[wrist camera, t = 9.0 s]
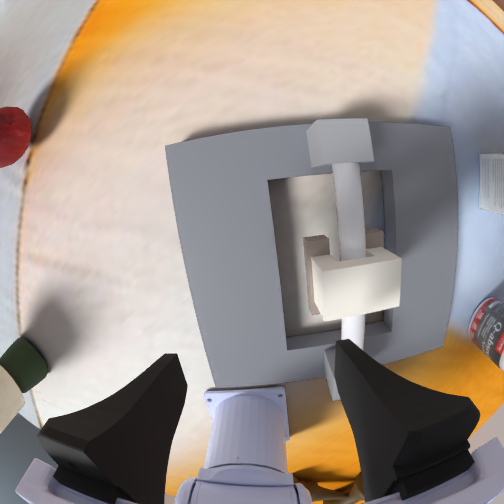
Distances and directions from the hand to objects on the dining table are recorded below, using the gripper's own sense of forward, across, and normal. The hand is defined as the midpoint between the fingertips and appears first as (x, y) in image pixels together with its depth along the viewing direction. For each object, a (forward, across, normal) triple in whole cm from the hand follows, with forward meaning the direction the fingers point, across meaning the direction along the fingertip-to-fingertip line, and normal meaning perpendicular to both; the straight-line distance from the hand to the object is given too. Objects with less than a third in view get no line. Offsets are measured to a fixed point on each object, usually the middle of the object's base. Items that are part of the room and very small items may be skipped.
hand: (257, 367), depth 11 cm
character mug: (+10, +31, +8) cm, 34 cm away
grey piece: (+10, -6, -1) cm, 12 cm away
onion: (+11, +21, -17) cm, 29 cm away
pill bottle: (+10, -25, +8) cm, 29 cm away
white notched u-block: (+8, -6, -2) cm, 10 cm away
